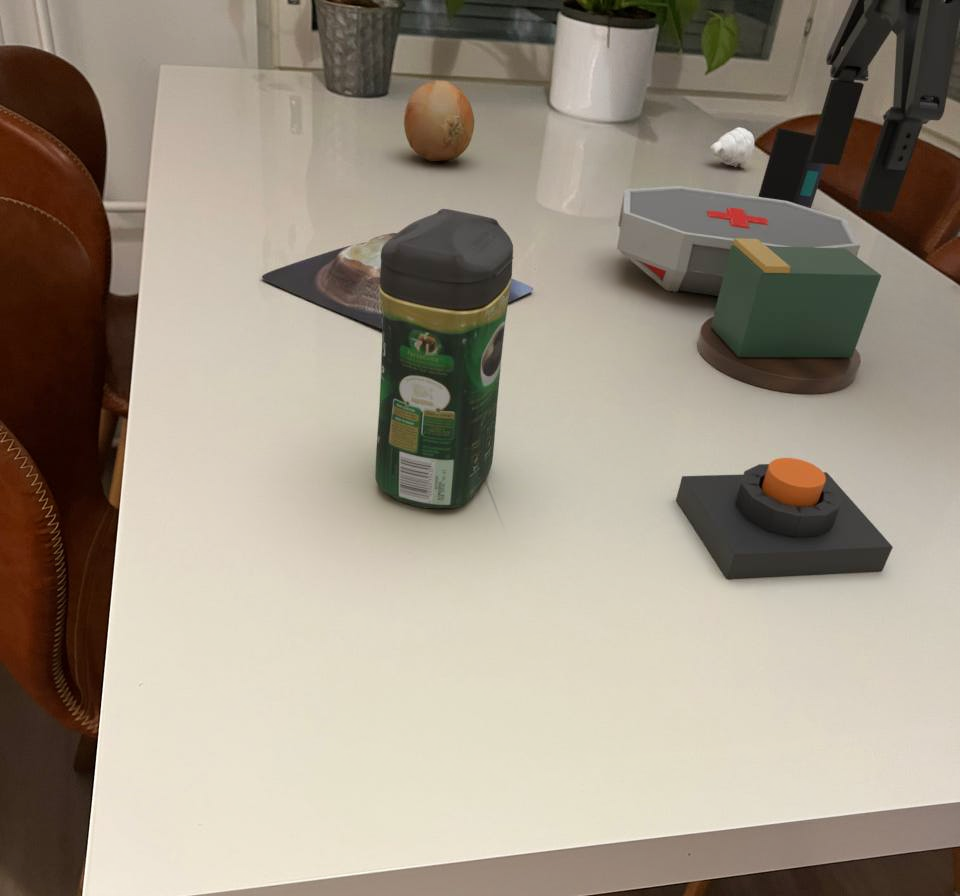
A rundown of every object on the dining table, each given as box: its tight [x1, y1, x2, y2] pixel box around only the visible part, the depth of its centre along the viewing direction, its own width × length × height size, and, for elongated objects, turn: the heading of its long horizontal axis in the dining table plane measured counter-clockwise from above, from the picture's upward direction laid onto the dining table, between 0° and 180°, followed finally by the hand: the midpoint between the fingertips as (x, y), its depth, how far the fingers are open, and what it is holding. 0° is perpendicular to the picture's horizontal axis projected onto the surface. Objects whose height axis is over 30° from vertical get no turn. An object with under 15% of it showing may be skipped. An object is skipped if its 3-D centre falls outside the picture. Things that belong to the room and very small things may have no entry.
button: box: [762, 457, 826, 507], centre depth 69 cm, size 4×4×2 cm
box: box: [711, 238, 882, 358], centre depth 93 cm, size 12×7×9 cm, turn 102°
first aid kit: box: [616, 185, 861, 297], centre depth 109 cm, size 18×8×25 cm
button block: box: [675, 463, 894, 581], centre depth 71 cm, size 12×10×4 cm
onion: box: [403, 80, 475, 162], centre depth 136 cm, size 10×10×10 cm
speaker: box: [757, 127, 826, 209], centre depth 133 cm, size 8×6×10 cm
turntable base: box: [696, 316, 862, 395], centre depth 97 cm, size 16×16×2 cm
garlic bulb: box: [710, 127, 755, 168], centre depth 150 cm, size 6×6×5 cm
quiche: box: [261, 232, 534, 330], centre depth 101 cm, size 21×20×4 cm
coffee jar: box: [374, 208, 514, 509], centre depth 68 cm, size 10×8×19 cm
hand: (847, 185), depth 84 cm, fingers open, 13 cm apart
